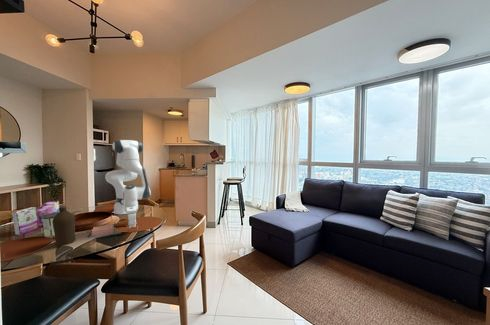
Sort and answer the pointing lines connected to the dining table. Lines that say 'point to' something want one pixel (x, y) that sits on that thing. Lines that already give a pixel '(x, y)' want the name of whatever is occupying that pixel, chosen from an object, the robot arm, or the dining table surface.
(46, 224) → the tissue box
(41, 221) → the gum box
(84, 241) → the dining table surface
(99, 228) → the pink block
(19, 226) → the candy bar box
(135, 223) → the stub
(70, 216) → the olive oil
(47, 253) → the dining table surface
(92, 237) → the mat
